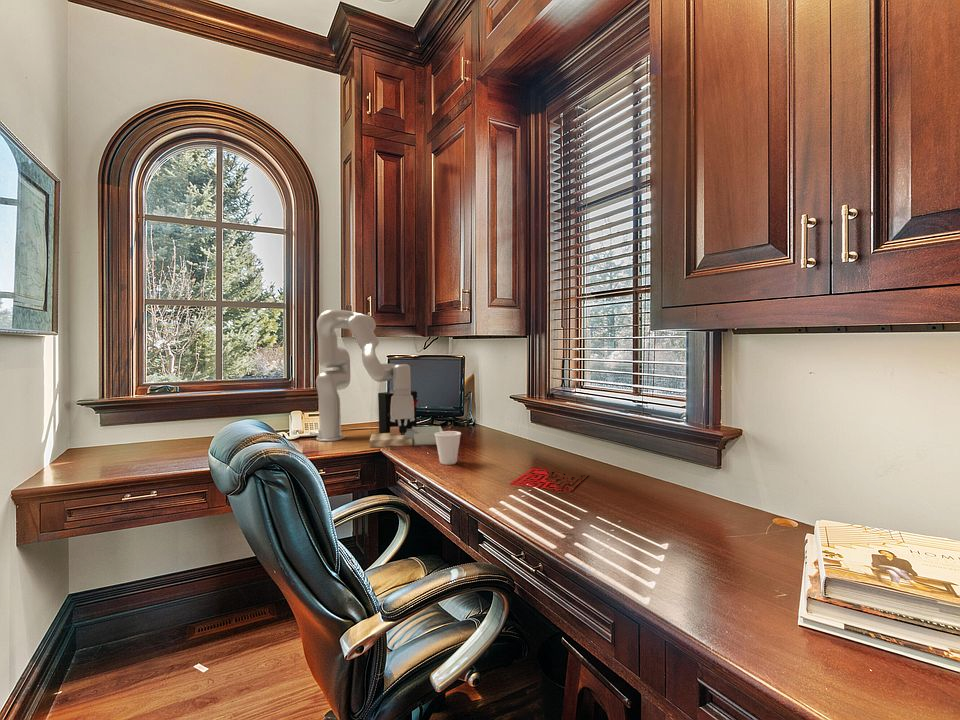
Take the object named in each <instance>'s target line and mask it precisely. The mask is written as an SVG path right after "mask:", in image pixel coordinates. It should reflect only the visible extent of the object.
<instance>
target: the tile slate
mask: <svg viewBox="0 0 960 720" xmlns="http://www.w3.org/2000/svg"><path fill="white" fill-rule="evenodd" d="M414 434H418V430H417V429H407V431H406V438H412V439H413V438H414Z"/></svg>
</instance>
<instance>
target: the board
mask: <svg viewBox="0 0 960 720" xmlns="http://www.w3.org/2000/svg"><path fill="white" fill-rule="evenodd" d="M403 446H409V447H410V446H414V444H413V438H406V433H405V435H390V433H379V432H378V433H371V435H370V438H369V448H383V447H385V448H386V447H403Z"/></svg>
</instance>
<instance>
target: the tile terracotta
mask: <svg viewBox="0 0 960 720" xmlns="http://www.w3.org/2000/svg"><path fill="white" fill-rule="evenodd" d="M390 435H401V433H399V427H390Z"/></svg>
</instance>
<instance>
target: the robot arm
mask: <svg viewBox="0 0 960 720" xmlns="http://www.w3.org/2000/svg"><path fill="white" fill-rule="evenodd" d="M376 327H377V324H376V320H375V319H374V318H373V317H372V316H371V315H368V314H363V313H360V312H356V311H352V310H345V309H328V310H325V311H323V312H322V313H320V315H319V316H318V318H317V320H316V331H317V339H318V341H317V344H318V346H317V349H318V351H317V352H318V362H319V365H320V366H321V367H323V368H326V369H329V368H330V369H331V368H332V369H331V370H325V371H322V372H320V373H319V374H318V375H317V376H316V380H315V386H316V391H317V398H318V412H319V413H318V417H319V420H318V422H319V423H318V424H319V429H317V430H310V431H309V436H316V440H317V441H319V442H335V441H340V440H344V439H345V435H344V434H343V433H342V424H341V421H342V419H341V397H340V394H339V392H338V391H340V390H344V389H347V388H348V387H349V386H350V384H351V356H350V354H349V351H348V350H347V349H346V348H345V347H341V346H338V336H337V333H336V331H335V329H347V330H349V331H350V333H351V334H352V336H353V338H354V340H355V341H356V343H357V344H358V346H359V348H360V349H361V359H362V365H363V367H364V368H365V370H366V372H367V373H368V375H369V376H370V378H371V379H372V380H373V381H374V382H377V383H378V382H381V383H382V382H387V381H392V388H393V389H391V390H389V392H390V393H392V394H393V396H392V397H391V410H390V414H391V418H390V421H391V422H396V423H397V424H398V425H399V433H401V435H405V433H406V425H407V424H408V423H409V422H411V421H414V420H415V418H414V401H413V396H412V395H411V390H412V389H411V384H412V383H411V365H409V364H407V363H403V364H402V363H399V364H396V363H381V362H380V360H379V358H378V357H377V354H376V348H377V347H379V344H380V341H379V339H378V337H377V335H376V334H375V332H374V331H375V330H376ZM397 419H398V420H397ZM401 419H404V424H403V426H402V424H401Z"/></svg>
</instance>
